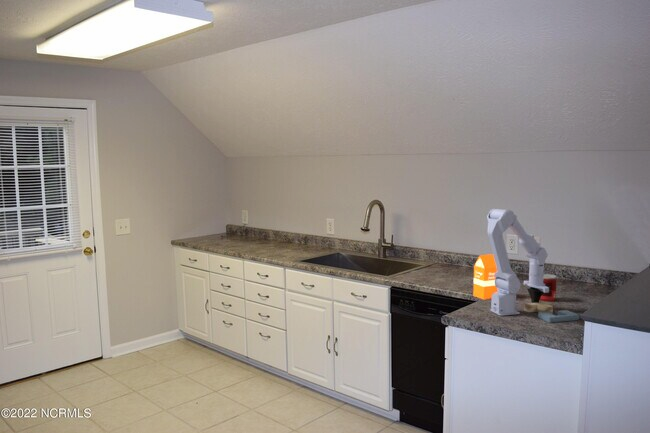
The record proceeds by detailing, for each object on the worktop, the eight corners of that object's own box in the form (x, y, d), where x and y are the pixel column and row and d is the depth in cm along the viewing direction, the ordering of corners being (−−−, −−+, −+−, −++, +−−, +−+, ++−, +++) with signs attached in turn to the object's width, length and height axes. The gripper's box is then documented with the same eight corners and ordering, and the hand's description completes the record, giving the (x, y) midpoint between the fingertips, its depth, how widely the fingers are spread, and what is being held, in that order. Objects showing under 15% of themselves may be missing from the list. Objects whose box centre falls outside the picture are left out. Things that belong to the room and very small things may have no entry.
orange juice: (473, 295, 253) (474, 254, 251) (488, 293, 256) (489, 252, 254) (483, 299, 246) (484, 256, 244) (499, 297, 249) (500, 255, 247)
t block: (536, 315, 220) (536, 308, 220) (524, 310, 228) (524, 303, 227) (561, 313, 223) (561, 306, 223) (548, 308, 231) (548, 301, 230)
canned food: (550, 297, 250) (551, 273, 248) (559, 301, 242) (559, 277, 240) (534, 297, 249) (535, 274, 248) (542, 301, 241) (543, 277, 240)
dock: (549, 322, 210) (549, 317, 210) (538, 317, 217) (538, 312, 217) (578, 319, 214) (578, 314, 214) (566, 314, 221) (566, 310, 220)
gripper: (555, 277, 222) (554, 308, 224) (533, 270, 236) (532, 300, 238) (541, 278, 221) (539, 310, 222) (519, 271, 235) (518, 301, 236)
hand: (535, 305), depth 230 cm, fingers closed
